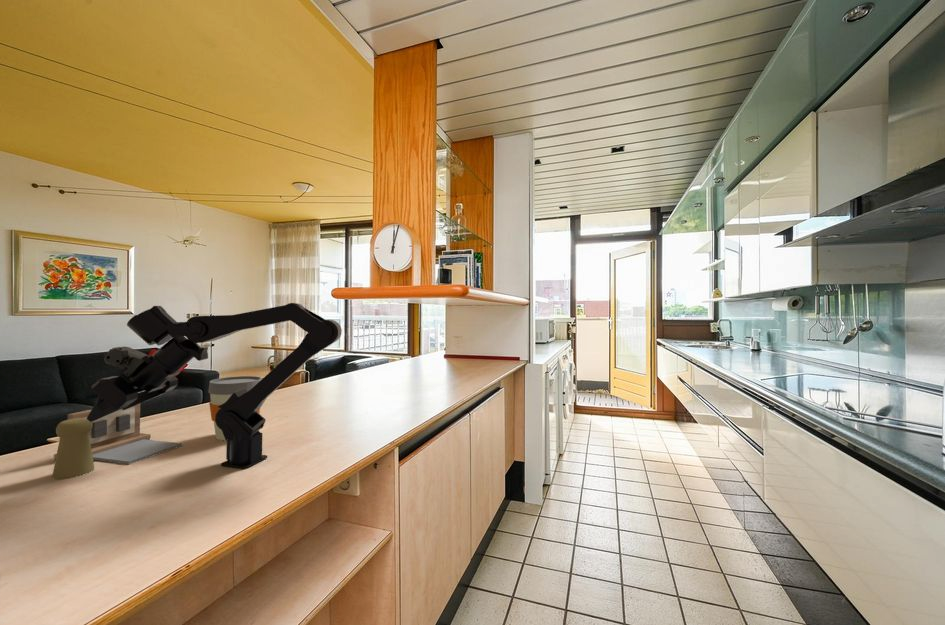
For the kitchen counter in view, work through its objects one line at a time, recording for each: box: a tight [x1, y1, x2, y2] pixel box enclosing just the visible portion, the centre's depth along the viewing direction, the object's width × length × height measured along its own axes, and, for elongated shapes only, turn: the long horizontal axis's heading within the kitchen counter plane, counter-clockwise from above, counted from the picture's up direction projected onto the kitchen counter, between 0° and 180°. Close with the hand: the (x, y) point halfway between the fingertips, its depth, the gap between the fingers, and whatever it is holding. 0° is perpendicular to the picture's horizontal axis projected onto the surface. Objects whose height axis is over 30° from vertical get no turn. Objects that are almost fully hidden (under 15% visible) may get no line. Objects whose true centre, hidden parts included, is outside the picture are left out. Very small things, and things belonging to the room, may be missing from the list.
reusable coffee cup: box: [207, 375, 263, 442], centre depth 102 cm, size 13×12×15 cm
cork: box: [51, 418, 95, 480], centre depth 78 cm, size 6×6×11 cm
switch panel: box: [53, 403, 152, 460], centre depth 91 cm, size 6×16×10 cm, turn 168°
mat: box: [92, 439, 183, 465], centre depth 89 cm, size 12×12×1 cm
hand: (106, 414), depth 79 cm, fingers open, 9 cm apart
